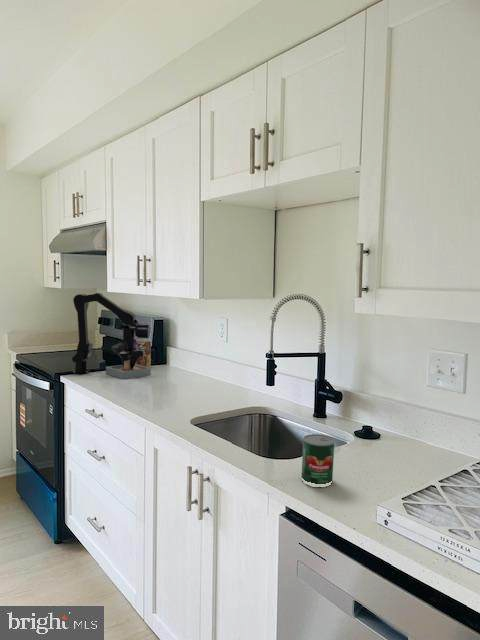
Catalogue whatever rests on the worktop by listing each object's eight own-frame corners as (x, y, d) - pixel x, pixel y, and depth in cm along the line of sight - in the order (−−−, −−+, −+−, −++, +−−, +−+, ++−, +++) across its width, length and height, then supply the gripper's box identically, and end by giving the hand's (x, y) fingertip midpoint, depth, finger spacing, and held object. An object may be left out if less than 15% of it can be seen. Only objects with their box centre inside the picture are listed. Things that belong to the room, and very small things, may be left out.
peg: (122, 374, 239) (122, 360, 238) (129, 373, 242) (129, 359, 241) (126, 375, 236) (126, 361, 235) (133, 374, 239) (133, 361, 238)
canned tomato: (312, 490, 115) (314, 446, 114) (295, 477, 122) (297, 436, 121) (338, 485, 119) (341, 442, 118) (320, 473, 126) (322, 432, 125)
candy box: (150, 367, 259) (151, 339, 258) (150, 368, 255) (150, 340, 254) (134, 367, 258) (134, 339, 257) (133, 368, 254) (133, 340, 252)
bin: (105, 373, 239) (105, 366, 238) (133, 370, 250) (133, 363, 250) (122, 379, 228) (122, 372, 227) (150, 375, 239) (150, 368, 239)
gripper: (104, 336, 238) (104, 367, 239) (124, 340, 225) (124, 373, 226) (123, 335, 246) (123, 364, 247) (144, 339, 233) (143, 370, 234)
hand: (128, 368), depth 239 cm, fingers open, 6 cm apart
